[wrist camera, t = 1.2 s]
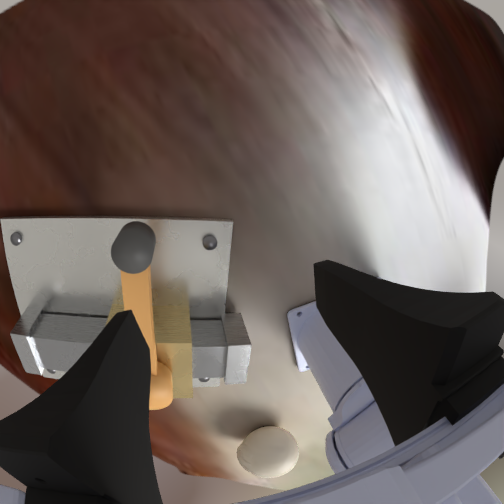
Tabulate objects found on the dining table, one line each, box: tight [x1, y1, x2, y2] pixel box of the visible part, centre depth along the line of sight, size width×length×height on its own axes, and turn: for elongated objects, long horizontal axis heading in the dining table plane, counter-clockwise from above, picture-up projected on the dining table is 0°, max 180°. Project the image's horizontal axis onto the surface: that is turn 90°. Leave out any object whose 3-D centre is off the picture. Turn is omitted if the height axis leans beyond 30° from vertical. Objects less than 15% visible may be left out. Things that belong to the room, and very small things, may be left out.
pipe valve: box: [10, 304, 251, 398], centre depth 20 cm, size 18×6×5 cm, turn 83°
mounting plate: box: [1, 216, 233, 387], centre depth 21 cm, size 18×16×1 cm
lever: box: [111, 221, 173, 410], centre depth 15 cm, size 12×3×2 cm, turn 173°
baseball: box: [237, 426, 299, 478], centre depth 29 cm, size 7×7×7 cm
